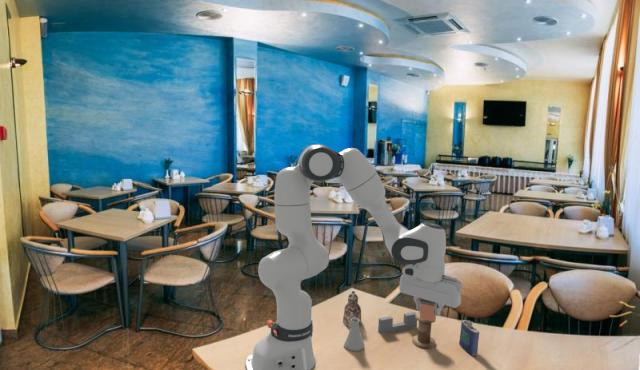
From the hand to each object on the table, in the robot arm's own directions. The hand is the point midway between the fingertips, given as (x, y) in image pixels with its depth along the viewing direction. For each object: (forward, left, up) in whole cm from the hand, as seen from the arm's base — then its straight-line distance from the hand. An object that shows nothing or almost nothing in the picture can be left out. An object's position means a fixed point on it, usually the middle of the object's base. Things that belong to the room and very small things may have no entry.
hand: (428, 312), depth 137 cm
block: (0, 0, -2) cm, 2 cm away
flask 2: (+18, 0, -17) cm, 25 cm away
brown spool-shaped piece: (+6, +9, -17) cm, 20 cm away
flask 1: (-19, +15, -17) cm, 30 cm away
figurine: (-12, +31, -17) cm, 37 cm away
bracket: (+2, +20, -17) cm, 26 cm away
